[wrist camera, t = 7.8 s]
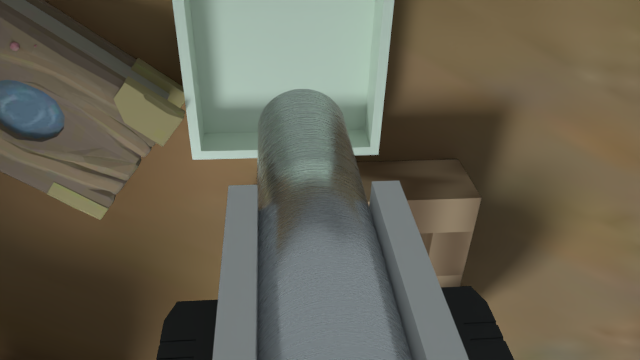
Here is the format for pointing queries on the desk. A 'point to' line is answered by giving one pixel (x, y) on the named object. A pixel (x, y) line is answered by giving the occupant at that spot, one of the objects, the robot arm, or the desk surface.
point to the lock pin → (318, 242)
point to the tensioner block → (434, 208)
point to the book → (76, 107)
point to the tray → (279, 66)
